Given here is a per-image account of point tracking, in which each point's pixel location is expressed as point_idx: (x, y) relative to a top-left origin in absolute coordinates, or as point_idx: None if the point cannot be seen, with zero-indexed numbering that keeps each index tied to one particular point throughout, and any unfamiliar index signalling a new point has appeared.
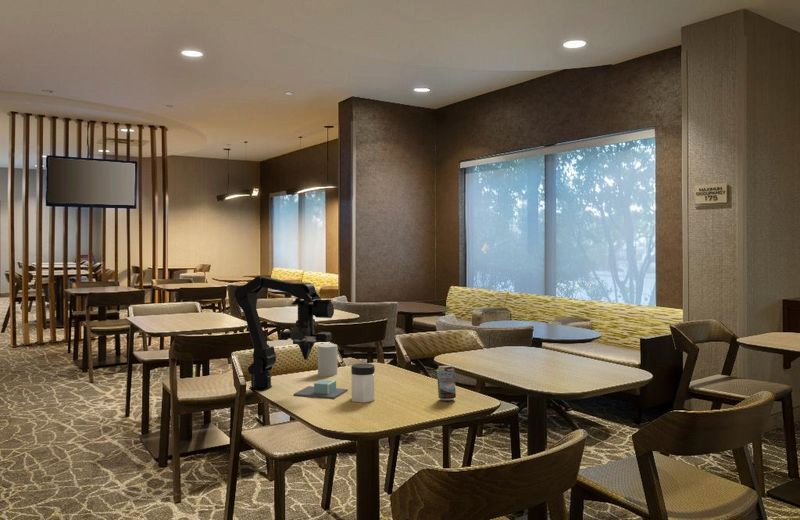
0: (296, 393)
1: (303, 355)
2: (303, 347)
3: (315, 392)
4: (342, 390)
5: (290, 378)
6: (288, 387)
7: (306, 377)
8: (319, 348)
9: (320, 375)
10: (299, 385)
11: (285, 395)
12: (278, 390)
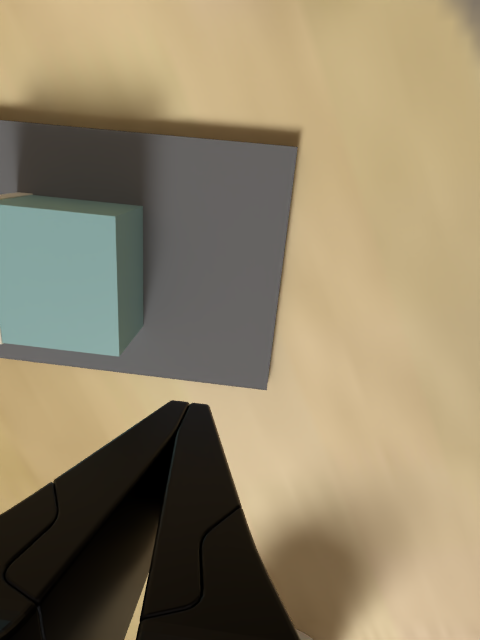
0: (276, 163)
1: (203, 437)
2: (144, 599)
3: (130, 205)
4: None
5: (463, 573)
6: (414, 374)
7: (367, 596)
8: None
9: (298, 631)
10: (351, 431)
11: (366, 135)
12: (470, 281)
